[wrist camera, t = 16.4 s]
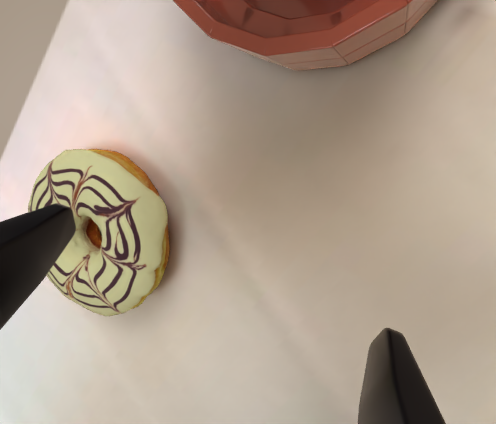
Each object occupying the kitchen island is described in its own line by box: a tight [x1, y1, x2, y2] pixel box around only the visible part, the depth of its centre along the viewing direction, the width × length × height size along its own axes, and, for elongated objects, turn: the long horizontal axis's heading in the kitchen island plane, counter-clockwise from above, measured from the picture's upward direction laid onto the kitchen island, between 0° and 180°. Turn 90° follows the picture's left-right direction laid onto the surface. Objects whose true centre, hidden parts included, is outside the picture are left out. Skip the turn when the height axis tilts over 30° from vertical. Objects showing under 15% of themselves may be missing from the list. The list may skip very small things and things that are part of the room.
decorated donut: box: [28, 149, 170, 316], centre depth 22 cm, size 10×11×4 cm
